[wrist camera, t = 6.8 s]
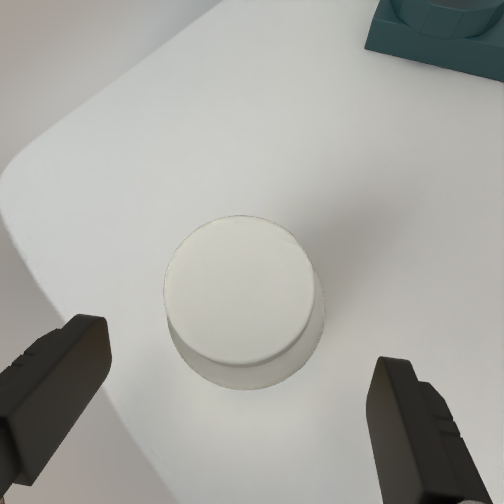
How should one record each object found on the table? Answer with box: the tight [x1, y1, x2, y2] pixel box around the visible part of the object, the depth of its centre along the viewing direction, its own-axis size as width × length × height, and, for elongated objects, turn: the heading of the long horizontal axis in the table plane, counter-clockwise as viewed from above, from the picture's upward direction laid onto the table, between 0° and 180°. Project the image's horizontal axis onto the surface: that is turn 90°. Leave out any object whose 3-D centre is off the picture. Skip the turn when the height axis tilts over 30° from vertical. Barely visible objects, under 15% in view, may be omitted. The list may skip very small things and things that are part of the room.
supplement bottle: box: [163, 215, 326, 390], centre depth 13 cm, size 5×5×10 cm
